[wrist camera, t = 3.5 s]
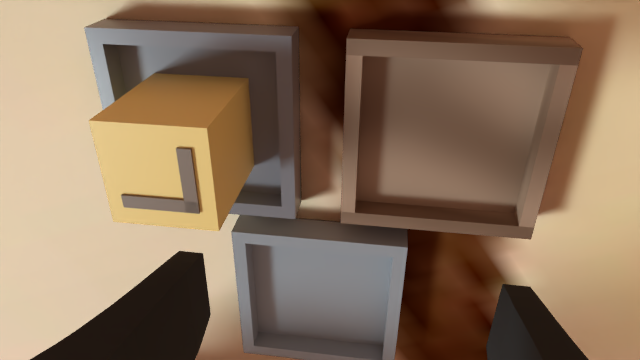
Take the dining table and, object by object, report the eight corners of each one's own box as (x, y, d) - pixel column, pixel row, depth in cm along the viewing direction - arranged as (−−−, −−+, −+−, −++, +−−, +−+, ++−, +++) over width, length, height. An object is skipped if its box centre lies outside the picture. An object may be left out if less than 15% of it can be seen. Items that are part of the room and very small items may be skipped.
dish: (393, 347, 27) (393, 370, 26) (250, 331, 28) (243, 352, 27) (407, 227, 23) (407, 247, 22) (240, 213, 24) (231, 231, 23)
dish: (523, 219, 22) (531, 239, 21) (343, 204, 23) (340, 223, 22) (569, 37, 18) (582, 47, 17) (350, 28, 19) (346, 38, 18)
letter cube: (254, 165, 22) (218, 232, 18) (168, 159, 22) (112, 223, 18) (248, 78, 20) (205, 129, 16) (153, 73, 20) (87, 121, 16)
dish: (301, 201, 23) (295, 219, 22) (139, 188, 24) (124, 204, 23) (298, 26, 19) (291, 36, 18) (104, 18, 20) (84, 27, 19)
